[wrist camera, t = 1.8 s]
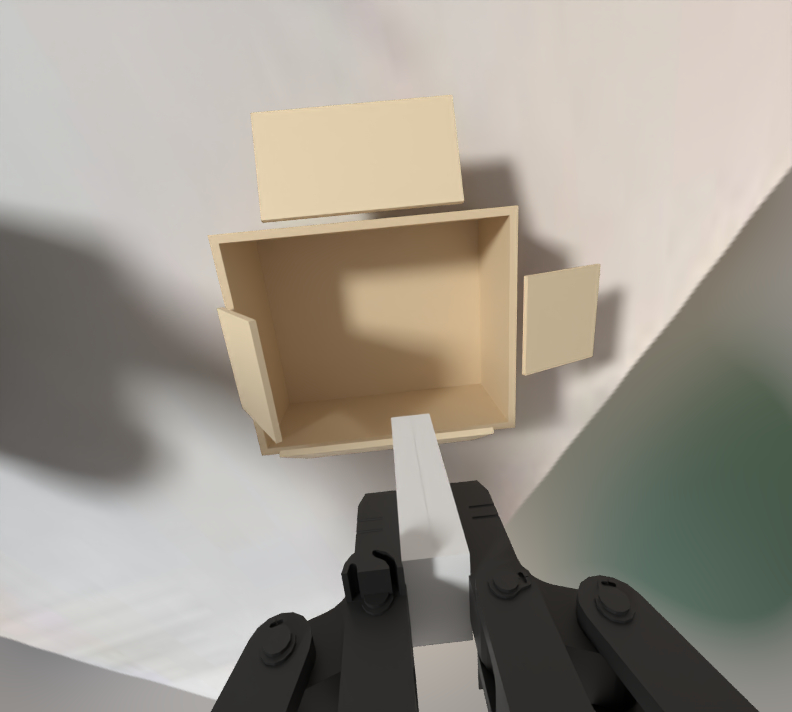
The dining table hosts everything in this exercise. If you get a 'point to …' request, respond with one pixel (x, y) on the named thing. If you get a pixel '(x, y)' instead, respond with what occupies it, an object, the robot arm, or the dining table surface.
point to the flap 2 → (357, 158)
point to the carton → (380, 322)
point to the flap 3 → (379, 444)
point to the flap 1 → (250, 370)
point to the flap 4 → (559, 317)
